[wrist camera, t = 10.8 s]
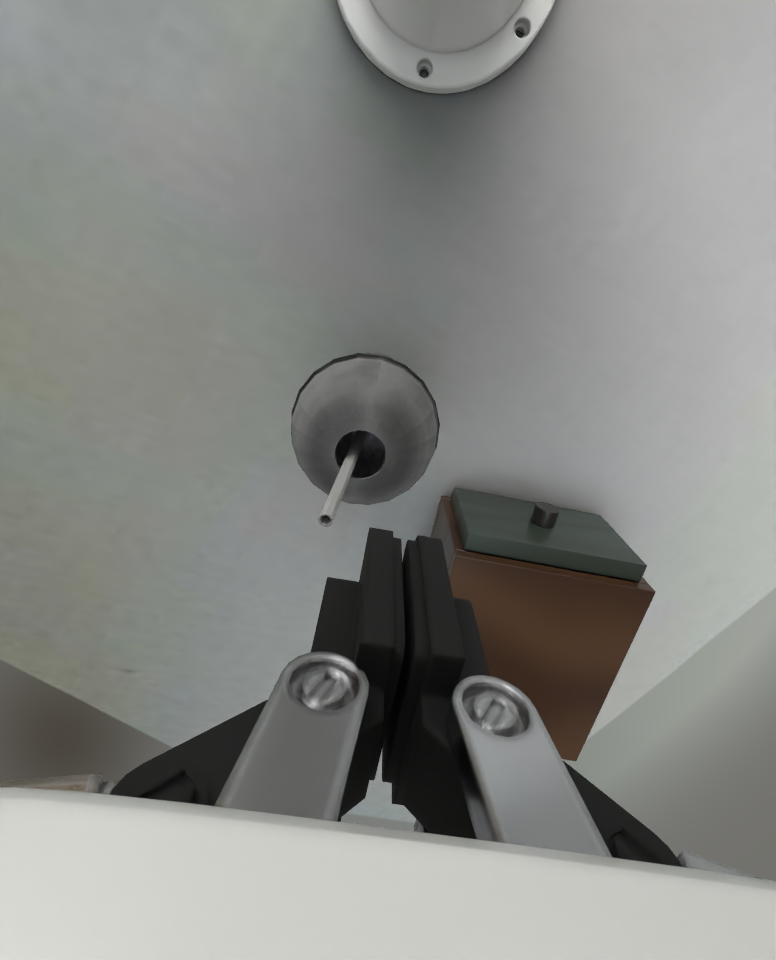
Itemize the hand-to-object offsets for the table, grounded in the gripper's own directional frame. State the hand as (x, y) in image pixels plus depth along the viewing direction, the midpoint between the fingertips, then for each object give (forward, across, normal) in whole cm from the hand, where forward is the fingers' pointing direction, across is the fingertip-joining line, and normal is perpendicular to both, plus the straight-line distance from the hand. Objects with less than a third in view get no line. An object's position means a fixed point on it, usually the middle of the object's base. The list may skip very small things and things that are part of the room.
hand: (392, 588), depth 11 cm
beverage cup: (+25, +1, 0) cm, 25 cm away
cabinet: (+25, -11, +15) cm, 31 cm away
